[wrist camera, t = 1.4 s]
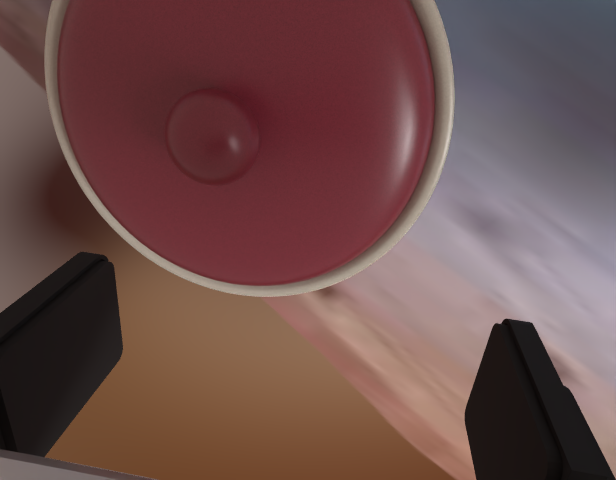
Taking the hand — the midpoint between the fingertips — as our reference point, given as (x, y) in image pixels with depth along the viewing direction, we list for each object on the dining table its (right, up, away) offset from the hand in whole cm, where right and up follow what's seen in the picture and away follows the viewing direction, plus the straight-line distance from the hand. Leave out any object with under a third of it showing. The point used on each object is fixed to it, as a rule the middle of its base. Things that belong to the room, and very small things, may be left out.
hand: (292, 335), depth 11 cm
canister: (0, +15, +23) cm, 28 cm away
